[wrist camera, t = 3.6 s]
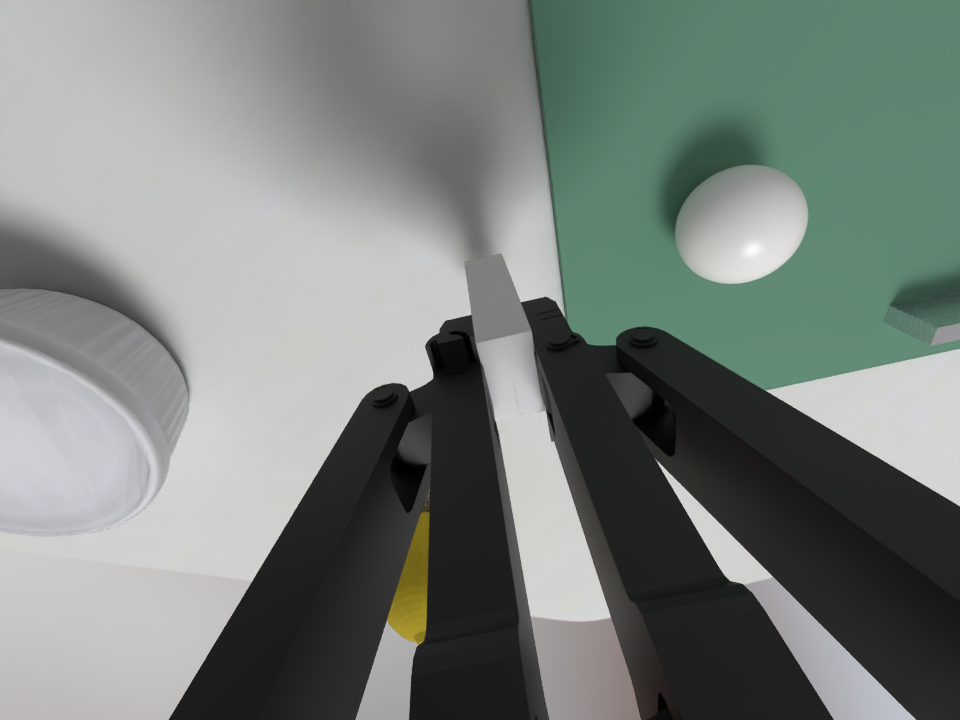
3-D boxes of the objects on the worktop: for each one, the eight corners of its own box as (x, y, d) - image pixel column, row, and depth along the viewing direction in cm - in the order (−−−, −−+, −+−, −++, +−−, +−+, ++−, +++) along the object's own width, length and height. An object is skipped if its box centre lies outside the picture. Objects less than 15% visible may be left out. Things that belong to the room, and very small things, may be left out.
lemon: (409, 473, 26) (399, 606, 19) (485, 500, 28) (500, 630, 21) (372, 525, 28) (351, 660, 22) (444, 547, 30) (446, 677, 23)
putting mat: (518, -95, 13) (520, -102, 13) (1485, -360, 12) (1523, -376, 12) (577, 424, 25) (580, 430, 25) (1069, 318, 24) (1081, 322, 23)
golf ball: (657, 171, 17) (716, 193, 14) (765, 145, 17) (855, 160, 13) (655, 271, 20) (706, 313, 16) (750, 250, 19) (824, 286, 16)
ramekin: (260, 406, 23) (216, 482, 18) (107, 483, 25) (33, 569, 20) (61, 215, 17) (-73, 258, 13) (-116, 335, 19) (-288, 409, 14)
